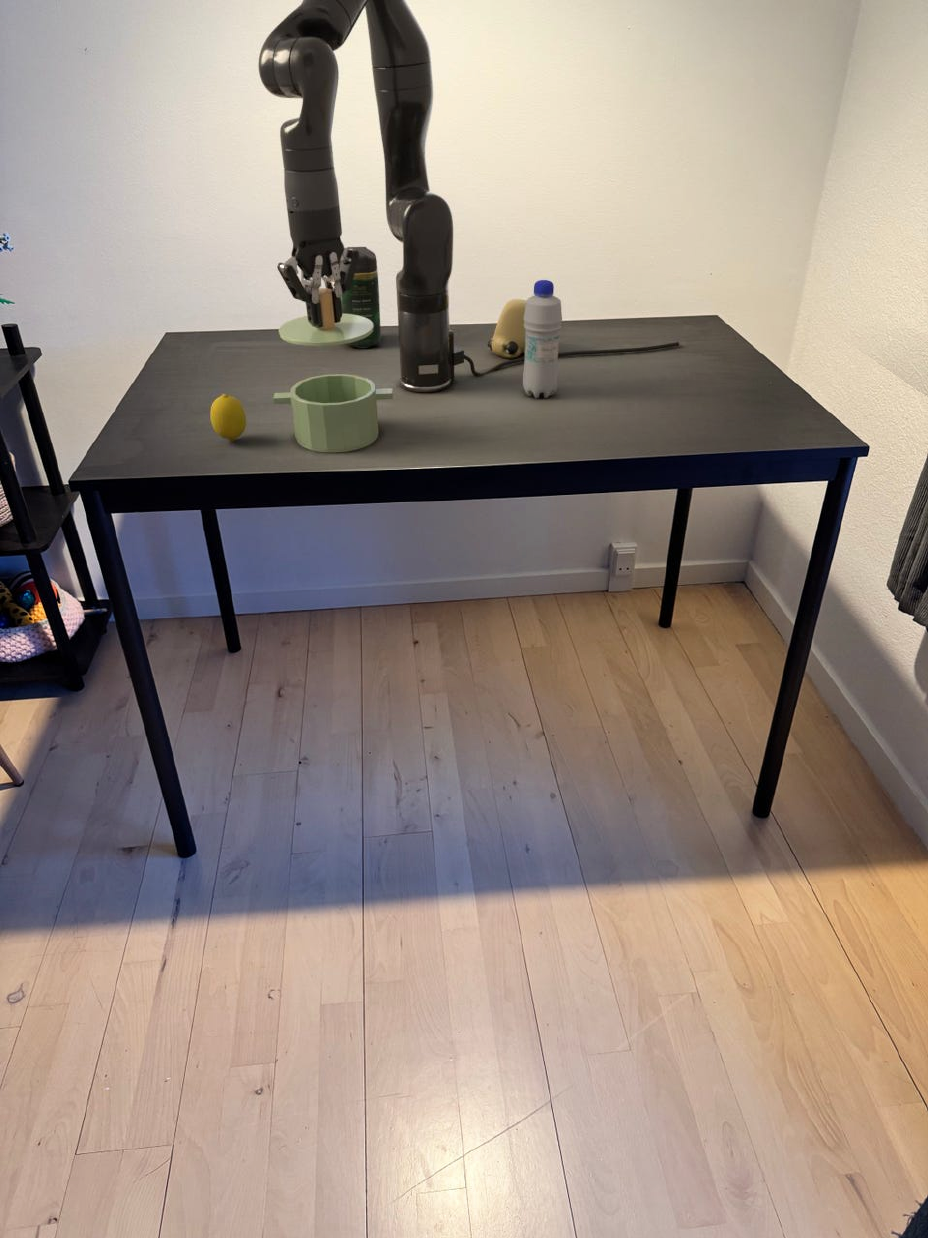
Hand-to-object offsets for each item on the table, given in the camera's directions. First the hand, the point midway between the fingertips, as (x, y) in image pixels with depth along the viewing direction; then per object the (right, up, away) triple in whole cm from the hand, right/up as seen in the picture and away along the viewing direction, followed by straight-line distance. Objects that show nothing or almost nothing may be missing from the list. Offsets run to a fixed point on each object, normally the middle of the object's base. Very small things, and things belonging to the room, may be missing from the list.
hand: (325, 323), depth 137 cm
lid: (0, -1, +1) cm, 1 cm away
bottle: (+35, -5, +25) cm, 43 cm away
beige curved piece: (+32, +8, +44) cm, 55 cm away
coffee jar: (0, +13, +50) cm, 52 cm away
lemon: (-17, -17, +9) cm, 25 cm away
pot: (0, -15, +10) cm, 18 cm away
